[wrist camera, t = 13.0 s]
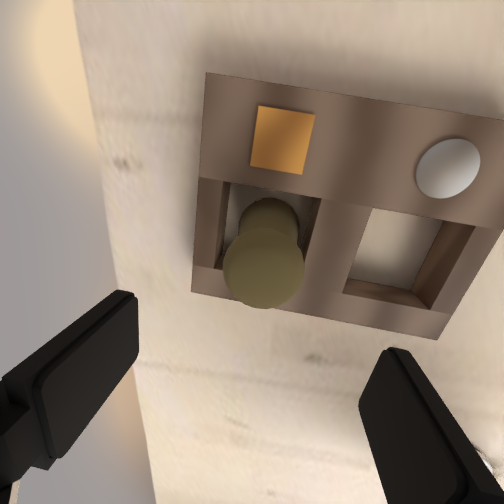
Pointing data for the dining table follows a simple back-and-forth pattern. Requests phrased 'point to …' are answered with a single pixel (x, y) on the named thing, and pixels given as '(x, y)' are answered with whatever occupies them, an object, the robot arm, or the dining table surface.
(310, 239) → the socket board
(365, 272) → the dining table surface
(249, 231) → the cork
